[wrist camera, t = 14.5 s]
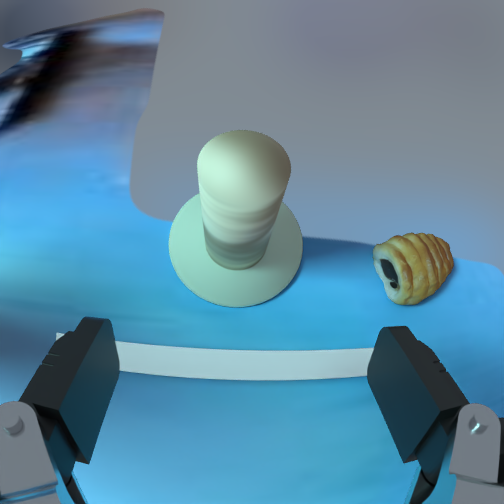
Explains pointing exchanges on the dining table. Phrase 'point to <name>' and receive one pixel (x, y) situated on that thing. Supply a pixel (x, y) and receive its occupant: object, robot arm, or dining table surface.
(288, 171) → the dome-topped cylinder
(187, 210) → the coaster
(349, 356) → the wall
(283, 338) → the dining table surface
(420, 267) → the pastry
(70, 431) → the robot arm
